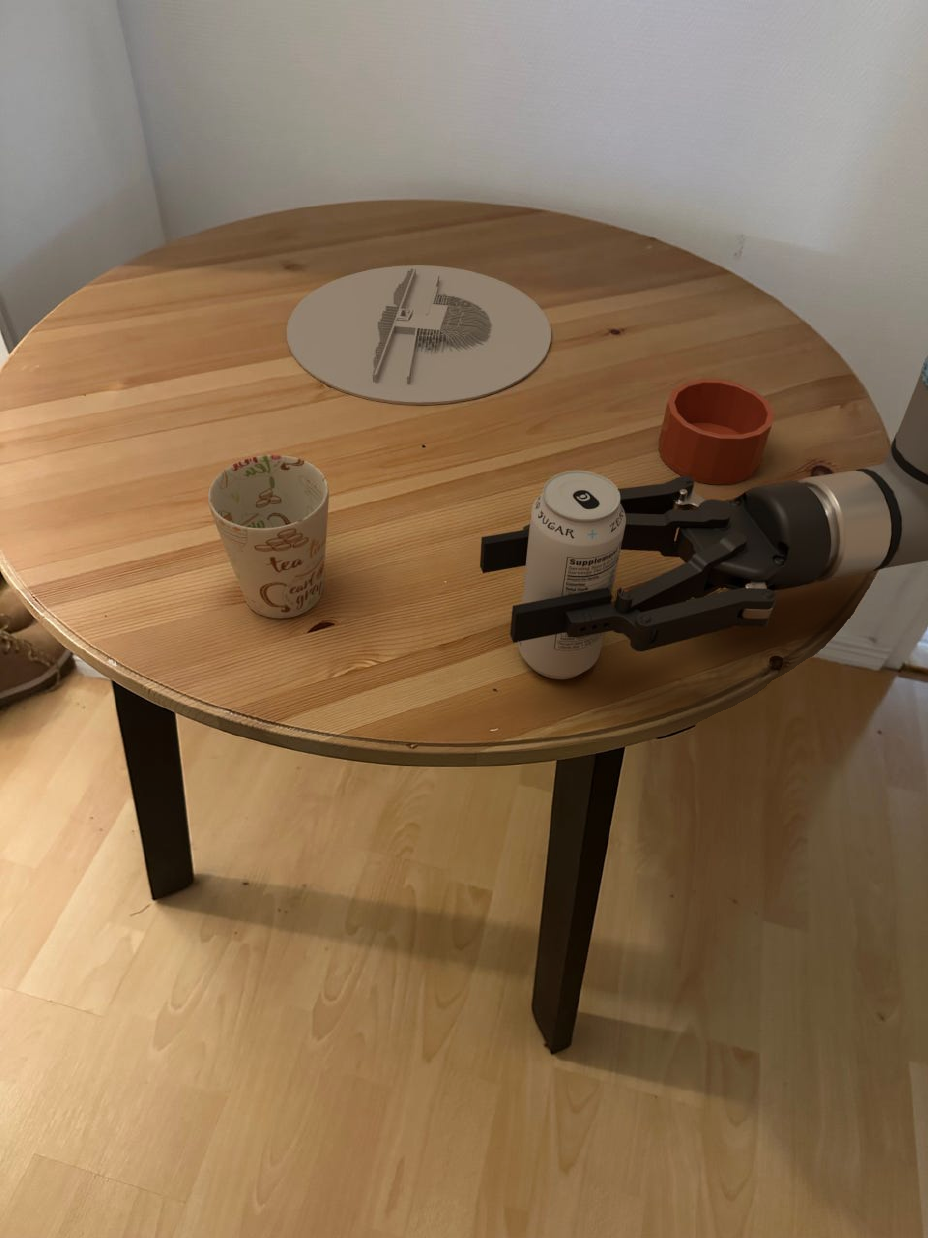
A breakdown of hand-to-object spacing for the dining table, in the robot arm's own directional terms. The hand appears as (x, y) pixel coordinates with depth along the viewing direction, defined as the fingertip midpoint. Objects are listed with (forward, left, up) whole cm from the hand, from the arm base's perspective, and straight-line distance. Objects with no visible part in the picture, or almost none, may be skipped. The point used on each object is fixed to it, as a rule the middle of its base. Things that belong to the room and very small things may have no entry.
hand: (497, 588), depth 63 cm
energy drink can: (-3, -4, -8) cm, 10 cm away
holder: (+3, -33, -8) cm, 35 cm away
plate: (+37, -29, -8) cm, 48 cm away
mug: (+18, +5, -8) cm, 21 cm away
